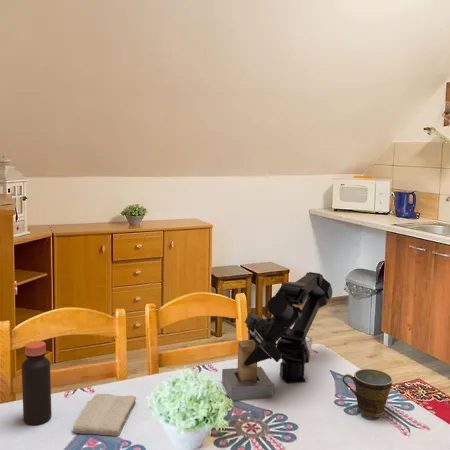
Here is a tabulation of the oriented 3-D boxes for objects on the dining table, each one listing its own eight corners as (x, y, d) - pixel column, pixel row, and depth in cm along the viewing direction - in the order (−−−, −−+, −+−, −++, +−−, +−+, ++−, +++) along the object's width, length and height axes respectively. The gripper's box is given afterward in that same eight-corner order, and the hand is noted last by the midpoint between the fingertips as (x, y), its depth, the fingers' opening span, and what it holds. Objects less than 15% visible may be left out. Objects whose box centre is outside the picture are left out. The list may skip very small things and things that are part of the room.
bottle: (25, 428, 128) (22, 351, 125) (21, 415, 134) (19, 341, 131) (53, 422, 131) (51, 347, 128) (49, 409, 137) (47, 337, 134)
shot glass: (310, 363, 171) (311, 343, 170) (289, 361, 173) (290, 341, 172) (311, 355, 178) (312, 335, 177) (291, 353, 179) (292, 333, 178)
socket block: (260, 378, 159) (260, 366, 158) (272, 397, 147) (272, 384, 147) (222, 381, 156) (222, 369, 156) (231, 400, 145) (231, 387, 144)
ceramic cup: (390, 406, 144) (393, 372, 143) (389, 424, 135) (392, 387, 133) (342, 397, 149) (345, 364, 147) (338, 414, 139) (340, 379, 138)
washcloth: (137, 402, 143) (137, 392, 143) (120, 438, 126) (120, 427, 125) (95, 400, 144) (94, 390, 144) (72, 436, 126) (71, 424, 126)
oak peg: (252, 378, 154) (253, 339, 152) (256, 385, 150) (257, 345, 148) (237, 379, 153) (238, 340, 151) (241, 386, 149) (242, 346, 147)
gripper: (253, 295, 158) (217, 332, 157) (272, 315, 140) (231, 357, 139) (277, 318, 161) (242, 354, 160) (298, 341, 143) (258, 382, 142)
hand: (242, 361), depth 150 cm, fingers closed on oak peg, 5 cm apart
